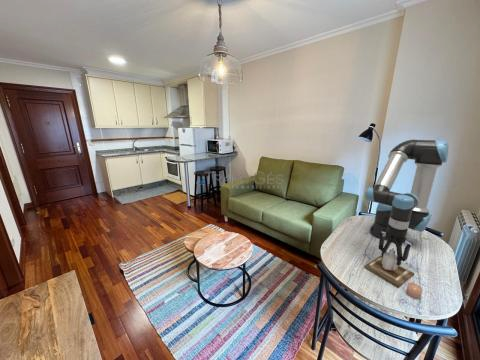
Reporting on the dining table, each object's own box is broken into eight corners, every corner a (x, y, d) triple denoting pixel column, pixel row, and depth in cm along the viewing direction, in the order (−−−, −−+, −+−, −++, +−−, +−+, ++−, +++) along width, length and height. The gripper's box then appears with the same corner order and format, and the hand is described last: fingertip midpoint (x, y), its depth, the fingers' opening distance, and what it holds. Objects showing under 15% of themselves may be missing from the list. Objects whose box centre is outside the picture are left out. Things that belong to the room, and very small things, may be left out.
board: (379, 257, 113) (380, 253, 113) (414, 275, 100) (415, 271, 99) (363, 267, 106) (364, 263, 106) (398, 288, 93) (399, 284, 92)
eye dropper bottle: (395, 272, 99) (400, 252, 96) (382, 268, 102) (386, 249, 99) (395, 267, 103) (399, 247, 99) (382, 263, 106) (385, 244, 102)
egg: (409, 288, 93) (410, 281, 92) (422, 295, 88) (424, 288, 87) (403, 292, 90) (405, 285, 89) (417, 300, 86) (419, 293, 85)
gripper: (374, 221, 101) (367, 259, 108) (416, 237, 87) (405, 280, 93) (382, 217, 105) (375, 254, 111) (424, 232, 90) (413, 274, 97)
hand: (389, 266), depth 102 cm, fingers closed on eye dropper bottle, 5 cm apart
